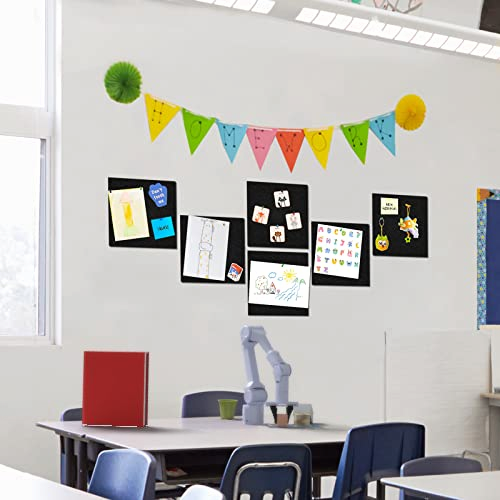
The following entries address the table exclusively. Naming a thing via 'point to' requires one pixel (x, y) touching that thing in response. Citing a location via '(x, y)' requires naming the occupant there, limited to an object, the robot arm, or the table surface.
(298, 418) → the maple base block
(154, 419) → the table surface
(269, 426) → the blueprint mat
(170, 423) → the table surface
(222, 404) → the plant pot
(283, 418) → the terracotta block
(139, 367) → the book
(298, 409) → the small box
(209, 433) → the table surface
